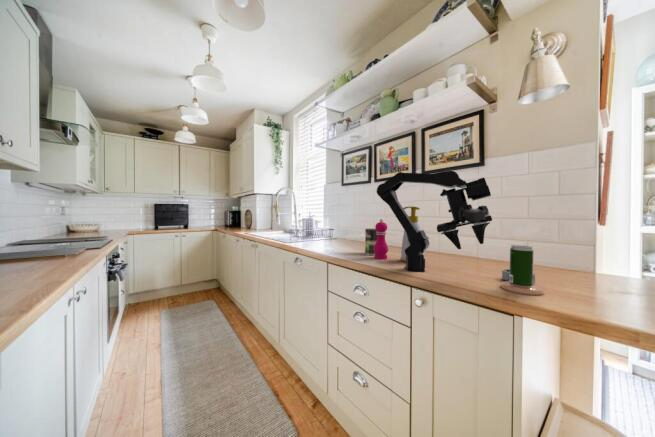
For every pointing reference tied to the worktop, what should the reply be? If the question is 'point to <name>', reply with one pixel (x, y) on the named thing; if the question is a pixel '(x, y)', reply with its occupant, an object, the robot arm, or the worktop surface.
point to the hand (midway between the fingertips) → (470, 246)
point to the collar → (506, 275)
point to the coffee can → (370, 241)
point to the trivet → (522, 289)
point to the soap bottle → (405, 239)
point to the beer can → (521, 266)
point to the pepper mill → (381, 241)
